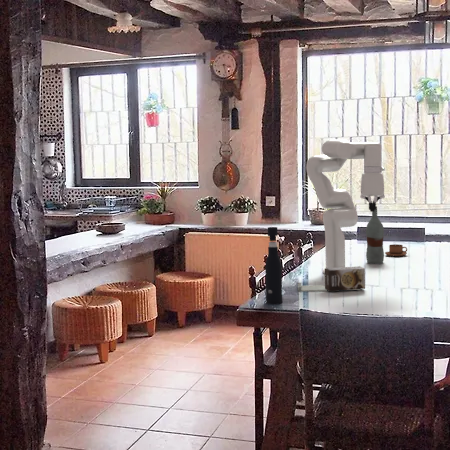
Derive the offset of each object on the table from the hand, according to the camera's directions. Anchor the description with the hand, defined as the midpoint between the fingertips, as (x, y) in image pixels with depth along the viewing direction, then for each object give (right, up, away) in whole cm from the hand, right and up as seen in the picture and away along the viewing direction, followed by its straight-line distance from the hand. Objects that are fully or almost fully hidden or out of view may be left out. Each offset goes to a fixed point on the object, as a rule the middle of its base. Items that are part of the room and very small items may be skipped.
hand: (372, 211), depth 312 cm
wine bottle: (-47, -37, -35) cm, 69 cm away
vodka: (+14, -26, +58) cm, 65 cm away
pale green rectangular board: (-21, -34, -11) cm, 41 cm away
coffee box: (-7, -29, -14) cm, 33 cm away
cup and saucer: (+31, -24, +81) cm, 90 cm away
